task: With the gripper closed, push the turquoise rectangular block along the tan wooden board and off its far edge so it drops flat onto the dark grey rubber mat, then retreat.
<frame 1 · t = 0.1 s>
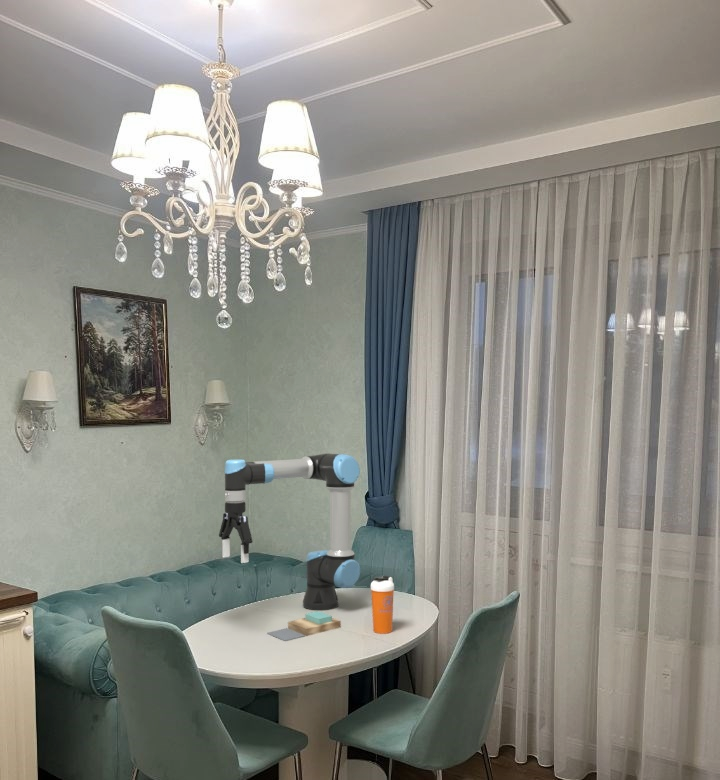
hand: (235, 559, 262), 28 cm above the table, fingers open, 13 cm apart
tan wooden board: (314, 627, 271), on the table
turquoise rectangular block: (318, 620, 272), point 2 cm above the table, touching tan wooden board
shaker bottle: (382, 631, 266), on the table
mat: (286, 634, 262), on the table
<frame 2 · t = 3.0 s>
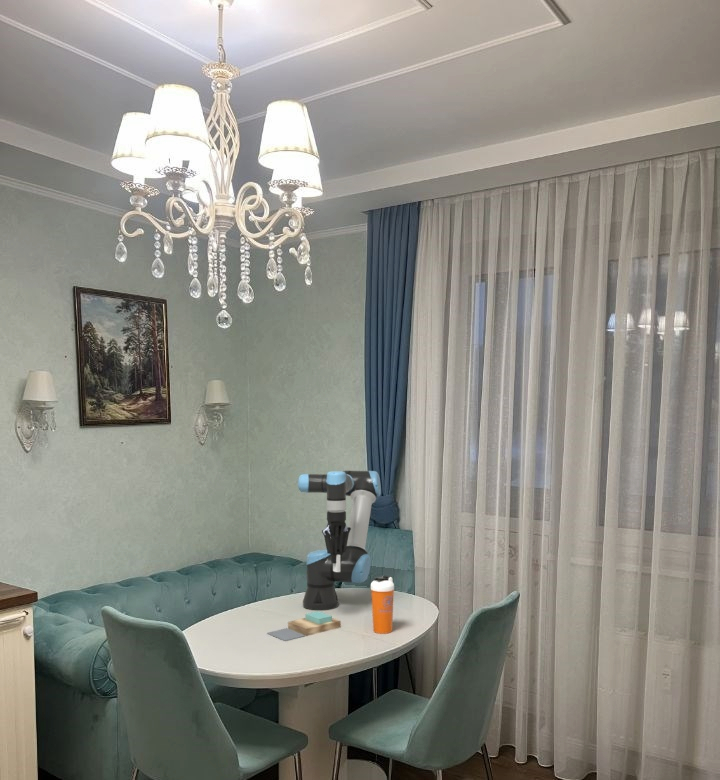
hand: (336, 571, 278), 20 cm above the table, fingers closed
nothing on the table moved.
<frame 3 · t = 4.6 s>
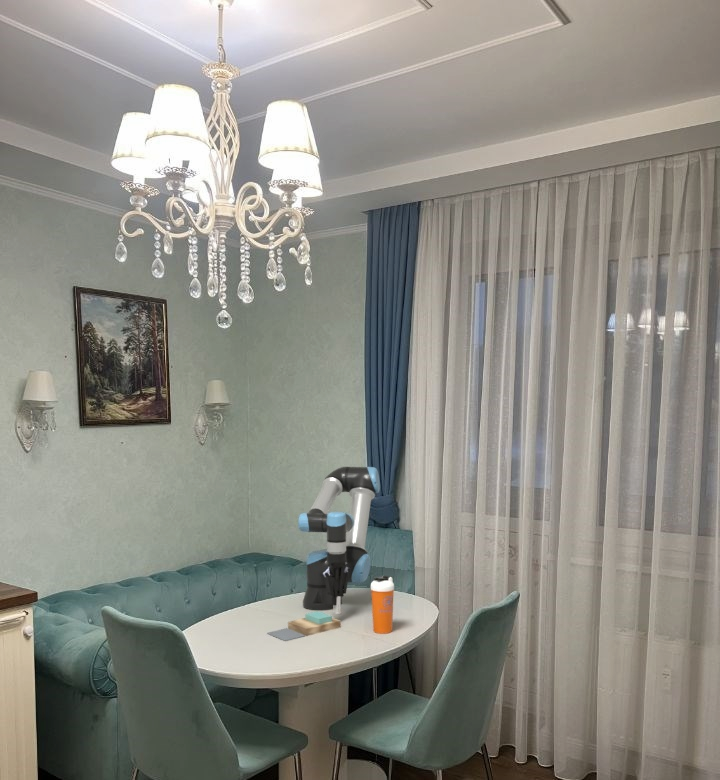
hand: (336, 613, 278), 4 cm above the table, fingers closed
nothing on the table moved.
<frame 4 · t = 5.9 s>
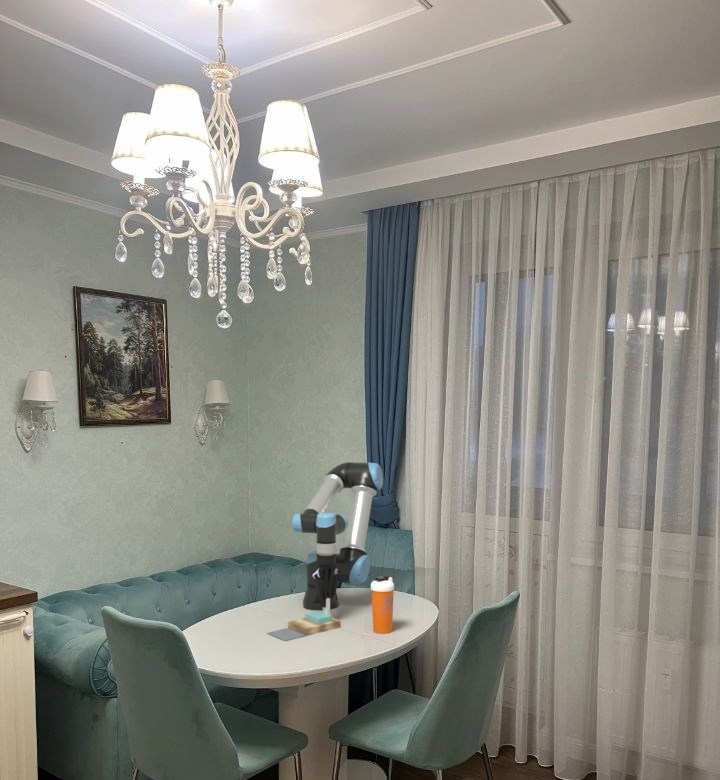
hand: (326, 615, 274), 4 cm above the table, fingers closed
turquoise rectangular block: (318, 620, 272), point 3 cm above the table, touching gripper
everything else where it was.
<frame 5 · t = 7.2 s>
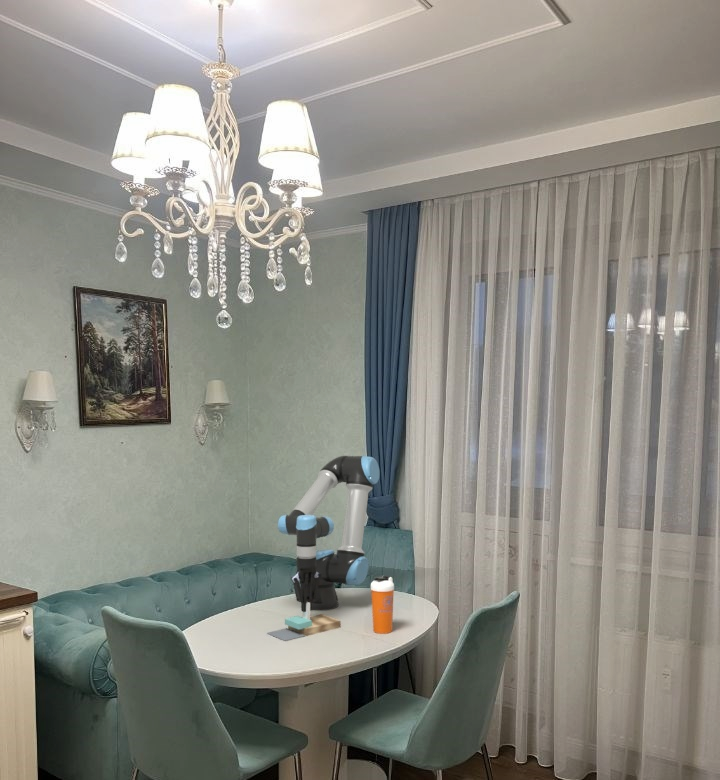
hand: (306, 619, 268), 4 cm above the table, fingers closed
turquoise rectangular block: (298, 625, 266), point 2 cm above the table, touching tan wooden board
everything else where it was.
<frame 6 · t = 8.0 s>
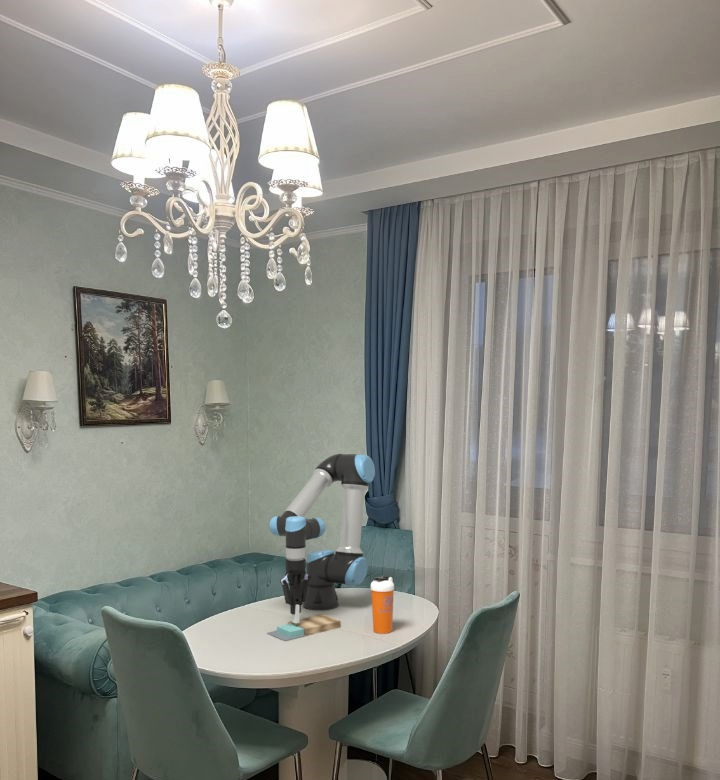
hand: (295, 622, 265), 4 cm above the table, fingers closed
turquoise rectangular block: (290, 633, 263), resting on mat
everything else where it was.
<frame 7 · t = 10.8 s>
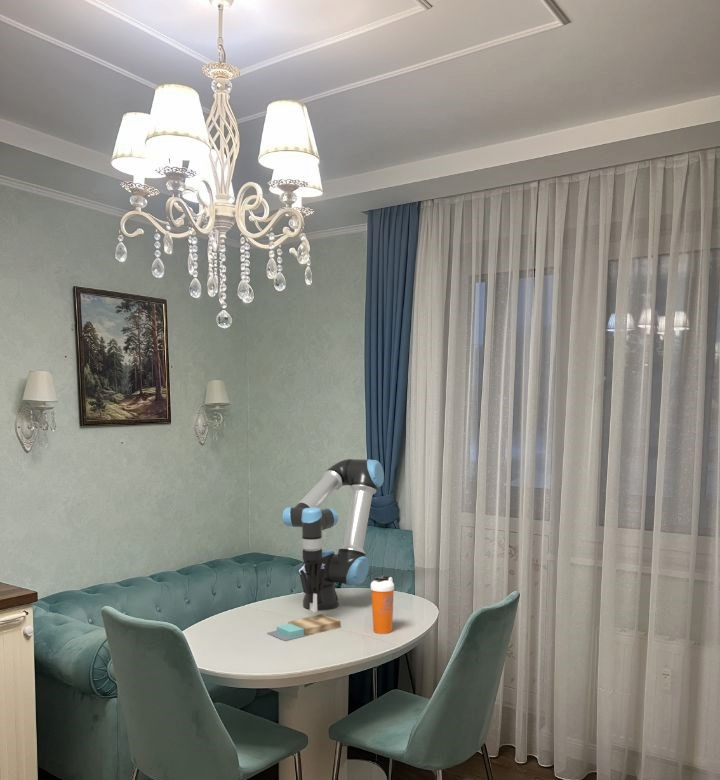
hand: (313, 610, 272), 6 cm above the table, fingers closed
nothing on the table moved.
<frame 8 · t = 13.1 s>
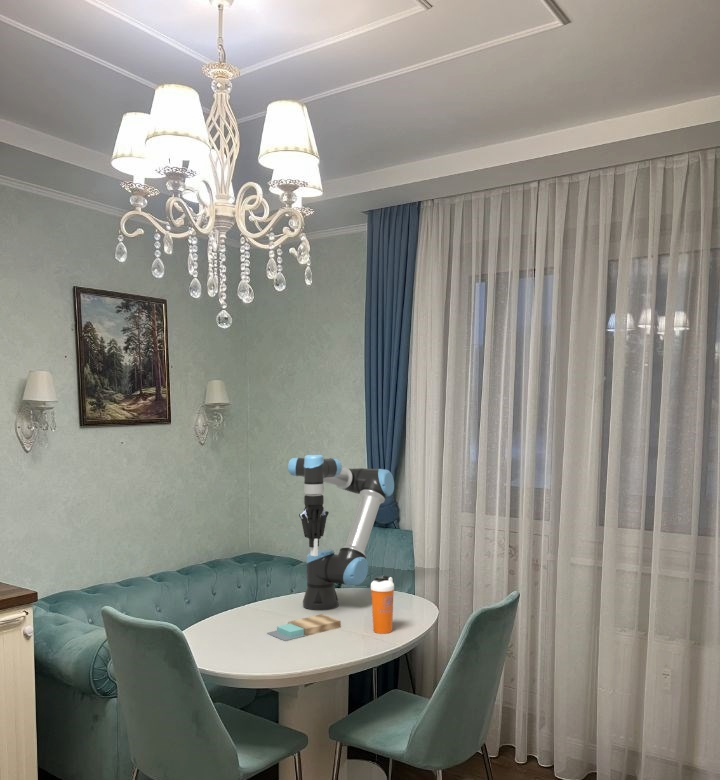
hand: (314, 555, 277), 26 cm above the table, fingers closed
nothing on the table moved.
at the end: turquoise rectangular block resting on mat; turquoise rectangular block inside the target area (1.9 cm from its centre), resting on mat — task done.
